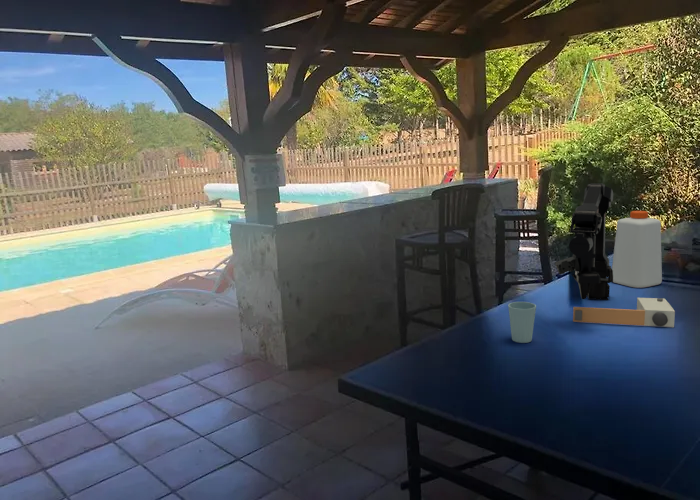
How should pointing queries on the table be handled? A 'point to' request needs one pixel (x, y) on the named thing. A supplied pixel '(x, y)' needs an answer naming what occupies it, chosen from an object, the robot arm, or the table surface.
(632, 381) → the table surface
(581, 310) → the side door
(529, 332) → the cup
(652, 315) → the camera housing
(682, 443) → the table surface
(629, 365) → the table surface
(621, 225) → the plastic bottle
